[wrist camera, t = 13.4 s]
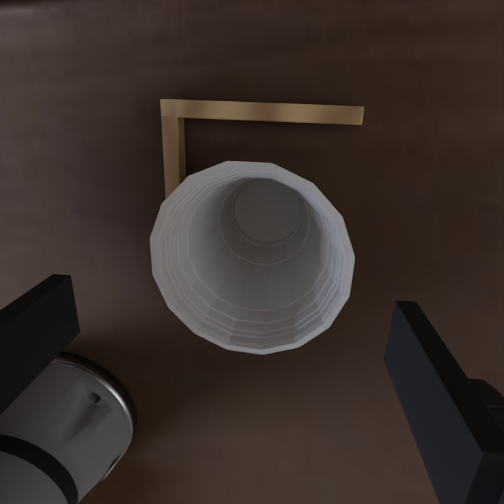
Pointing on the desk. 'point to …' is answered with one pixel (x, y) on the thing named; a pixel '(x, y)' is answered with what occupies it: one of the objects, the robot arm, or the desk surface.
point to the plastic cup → (252, 257)
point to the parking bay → (230, 110)
